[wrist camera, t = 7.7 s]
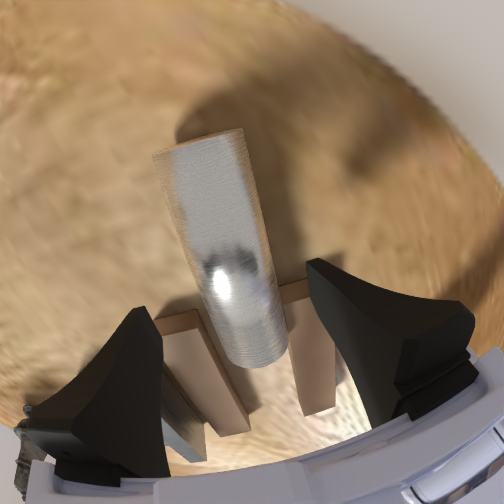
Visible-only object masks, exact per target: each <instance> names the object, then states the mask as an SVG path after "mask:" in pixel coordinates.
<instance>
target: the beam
mask: <svg viewBox="0 0 504 504" xmlns="http://www.w3.org/2000/svg"><path fill="white" fill-rule="evenodd" d="M278 288H279V293H280V297H281V302H282V307H283V312H284V317H285V321H286V326H287V331H288V336H289V344H288V349H289V353H290V358H291V363H292V368H293V373H294V378H295V383H296V388H297V393H298V398H299V402H300V405H301V408H302V411H303V414H304V417H305V416H308V415H312V414H315V413H318V412H321V411H324V410H326V409H329V408H332V407H335V393H336V373H335V343H334V341H333V340H332V338H331V337H330V335H329V333H328V332H327V330H326V329H325V327H324V325H323V324H322V322H321V320H320V319H319V317H318V315H317V313H316V311H315V308H314V306H313V304H312V301H311V299H310V292H309V285H308V278H307V279H303V280H300V281H297V282H293V283H290V284H287V285H283V286H280V287H278ZM153 322H154V324H155V326H156V328H157V329H158V331H159V333H160V335H161V336H162V338H163V353H164V361H165V363H166V364H167V366H168V367H169V369H170V371H171V372H172V373H173V375H174V376H175V378H176V379H177V381H178V382H179V384H180V385H181V387H182V388H183V389H184V391H185V392H186V394H187V395H188V396H189V398H190V399H191V400H192V402H193V403H194V404H195V406H196V407H197V408H198V410H199V411H200V412H201V414H202V415H203V416H204V418H205V419H206V420H207V421H208V423H209V424H210V425H211V427H212V428H213V429H214V430H215V431H216V433H217V434H218V435H219V436H220V437H224V436H229V435H235V434H240V433H244V432H249V431H251V426H250V421H249V416H248V414H247V412H246V410H245V408H244V406H243V404H242V403H241V401H240V399H239V397H238V395H237V393H236V391H235V389H234V387H233V385H232V383H231V381H230V379H229V377H228V375H227V373H226V371H225V369H224V367H223V365H222V362H221V360H220V358H219V356H218V354H217V352H216V350H215V348H214V345H213V343H212V341H211V339H210V337H209V335H208V332H207V330H206V328H205V326H204V323H203V321H202V319H201V317H200V314H199V312H198V310H197V309H196V310H192V311H188V312H184V313H180V314H176V315H172V316H168V317H163V318H159V319H155V320H153Z"/></svg>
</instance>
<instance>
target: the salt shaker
mask: <svg viewBox="0 0 504 504" xmlns="http://www.w3.org/2000/svg"><path fill="white" fill-rule="evenodd" d="M32 408H34V407H33V406H28V405H27V406H24V407H23V411H24V413H25V415H26V416H27V419H23V420H21V421H20V422H19V423H18V425H17V427H14V432H15V434H16V435H17V436H18V437H19V438H20V440H21V449H20V453H19V458H18V459H17V460H15V461H16V463H17V464H18V465H17V470H16V474H15V480H14V485H15V487H16V488H17V490H19V491H20V492H21V494H22V495H23V497H22V499H23V501H26V494H27V487H28V481H29V475H30V469H31V464H32V460H34V459H35V460H39V461H44V459H45V457H46V456H47V453H46V452H45V451H43V450H42V449H40V448H39V447H38V446H36V445H35V444H34V443H33V442H32V441H31V440H30V439H29V438H28V437H27V435H26V433H25V429H26V426H27V422H28V419H29V416H30V413H31V410H32Z"/></svg>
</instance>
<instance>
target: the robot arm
mask: <svg viewBox="0 0 504 504" xmlns="http://www.w3.org/2000/svg"><path fill="white" fill-rule="evenodd" d="M305 263H306V270H307V277H308V285H309V292H310V299H311V301H312V304H313V306H314V308H315V311H316V313H317V315H318V317H319V319H320V320H321V322H322V324H323V325H324V327H325V329H326V330H327V332H328V333H329V335H330V337H331V338H332V340H333V341H334V343H335V345H336V346H337V348H338V350H339V351H340V353H341V355H342V357H343V358H344V360H345V362H346V365H347V367H348V369H349V371H350V373H351V376H352V378H353V380H354V383H355V385H356V387H357V390H358V392H359V395H360V397H361V400H362V402H363V405H364V408H365V410H366V413H367V416H368V419H369V422H370V424H371V427H372V430H370V431H368V432H365V433H363V434H360V435H358V436H356V437H353V438H351V439H348V440H346V441H343V442H340V443H338V444H335V445H332V446H329V447H326V448H323V449H320V450H317V451H314V452H311V453H308V454H305V455H301V456H298V457H294V458H291V459H287V460H283V461H279V462H275V463H268V464H262V465H257V466H252V467H247V468H242V469H236V470H230V471H224V472H217V473H209V474H200V475H189V476H175V477H171V474H170V470H169V466H168V462H167V456H166V451H165V445H164V439H163V431H162V421H161V386H162V373H163V361H164V353H163V338H162V336H161V335H160V333H159V331H158V329H157V328H156V326H155V324H154V322H153V320H152V319H151V317H150V315H149V313H148V311H147V309H146V307H145V306H141V307H137V308H133V309H132V310H131V311H130V312H129V313H128V315H127V316H126V317H125V319H124V320H123V321H122V323H121V324H120V325H119V327H118V328H117V329H116V331H115V332H114V333H113V335H112V336H111V337H110V339H109V340H108V341H107V343H106V344H105V345H104V346H103V348H102V349H101V350H100V351H99V353H98V354H97V355H96V356H95V357H94V359H93V360H92V361H91V362H90V363H89V364H88V365H87V366H86V367H85V368H84V369H83V370H82V371H81V372H80V373H79V374H78V375H77V376H76V377H75V378H74V379H73V380H72V381H71V382H69V383H68V384H67V385H66V386H65V387H64V388H62V389H61V390H60V391H58V392H57V393H56V394H54V395H53V396H52V397H50V398H49V399H47V400H46V401H44V402H42V403H41V404H39V405H37V406H36V407H34V408H32V410H31V413H30V416H29V419H28V422H27V426H26V429H25V433H26V435H27V437H28V438H29V439H30V440H31V441H32V442H33V443H34V444H35V445H36V446H38V447H39V448H40V449H42V450H43V451H45V452H46V453H47V454H49V455H50V456H52V457H53V458H55V459H56V465H54V464H51V463H48V462H44V461H39V460H35V459H34V460H32V464H31V469H30V475H29V481H28V487H27V494H26V502H25V504H405V501H404V499H403V497H402V495H401V493H402V494H403V496H404V498H405V499H406V500H407V501H408V502H409V503H410V504H504V353H503V352H502V351H501V350H500V349H499V348H498V346H494V347H493V348H491V349H490V350H489V351H488V352H486V353H485V354H484V355H482V356H481V357H480V358H479V357H478V356H477V354H476V353H475V352H474V351H473V350H472V349H471V348H470V346H469V345H468V343H469V341H470V339H471V336H472V334H473V331H474V328H475V317H474V315H473V314H472V313H471V312H470V311H469V310H468V309H467V308H466V307H465V306H464V305H463V304H462V303H461V302H460V301H450V300H434V299H427V298H420V297H414V296H409V295H405V294H401V293H397V292H393V291H390V290H387V289H384V288H381V287H378V286H375V285H373V284H370V283H368V282H366V281H363V280H361V279H359V278H357V277H355V276H352V275H350V274H348V273H346V272H345V271H343V270H341V269H339V268H337V267H335V266H333V265H331V264H330V263H328V262H326V261H324V260H322V259H320V258H316V259H312V260H309V261H306V262H305ZM400 492H401V493H400Z"/></svg>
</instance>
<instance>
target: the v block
mask: <svg viewBox="0 0 504 504" xmlns="http://www.w3.org/2000/svg"><path fill="white" fill-rule="evenodd" d="M161 421H162V431H163V439H164V445H165V446H170V447H171V448H172V449H174V450H175V451H176V452H177V453H179V454H180V455H181V456H183V457H184V458H185V459H186V460H188V461H189V462H190V463H193V462H202V461H207V455H206V445H205V433H204V424H203V423H202V422H201V420H200V419H199V418H198V417H197V416H196V414H195V413H194V412H193V410H192V409H191V408H190V407H189V405H188V404H187V403H186V401H185V400H184V399H183V397H182V396H181V395H180V393H179V392H178V391H177V389H176V388H175V387H174V385H173V384H172V383H171V381H170V380H169V378H168V377H167V375H166V374H165V373H164V371H163V373H162V386H161Z"/></svg>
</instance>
